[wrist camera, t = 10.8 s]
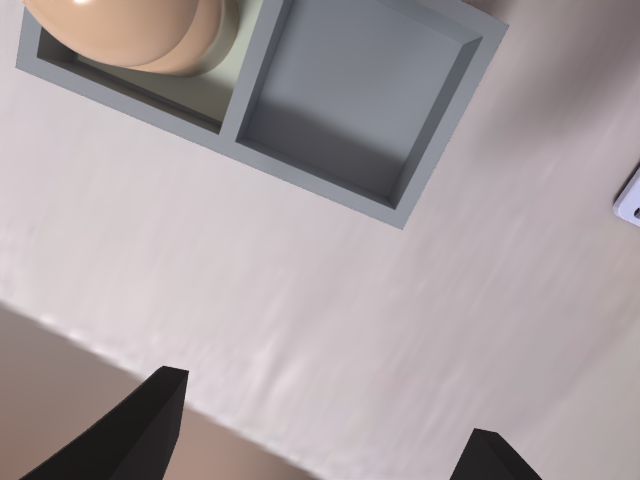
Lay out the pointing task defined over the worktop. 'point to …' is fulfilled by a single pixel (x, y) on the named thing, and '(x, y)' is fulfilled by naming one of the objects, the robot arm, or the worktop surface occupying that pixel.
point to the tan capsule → (144, 32)
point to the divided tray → (311, 92)
